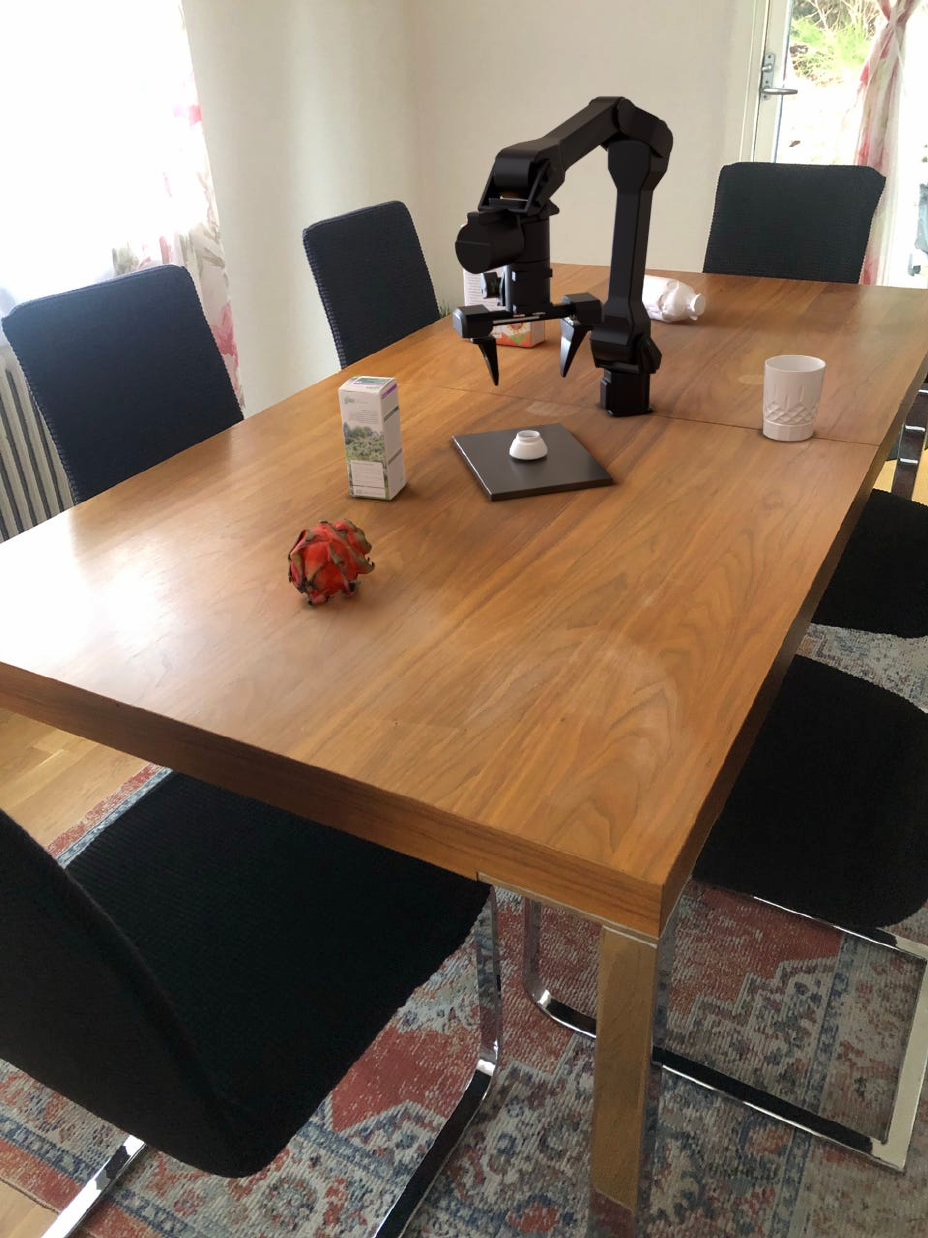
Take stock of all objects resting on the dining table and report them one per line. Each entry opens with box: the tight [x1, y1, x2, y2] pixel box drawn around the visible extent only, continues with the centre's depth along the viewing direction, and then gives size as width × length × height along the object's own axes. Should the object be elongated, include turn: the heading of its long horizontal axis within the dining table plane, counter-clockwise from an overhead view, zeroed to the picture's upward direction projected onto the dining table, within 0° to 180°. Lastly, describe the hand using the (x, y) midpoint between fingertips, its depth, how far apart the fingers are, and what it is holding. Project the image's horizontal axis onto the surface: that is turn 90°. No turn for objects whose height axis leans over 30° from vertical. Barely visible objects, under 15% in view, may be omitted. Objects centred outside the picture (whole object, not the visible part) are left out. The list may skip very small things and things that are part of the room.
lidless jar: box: [510, 431, 547, 460], centre depth 139 cm, size 5×3×5 cm
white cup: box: [762, 354, 827, 442], centre depth 142 cm, size 8×8×10 cm
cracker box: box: [461, 222, 546, 348], centre depth 188 cm, size 14×6×21 cm, turn 58°
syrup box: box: [337, 375, 407, 501], centre depth 130 cm, size 6×6×14 cm
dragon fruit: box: [287, 518, 376, 607], centre depth 109 cm, size 8×8×12 cm
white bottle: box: [642, 274, 707, 324], centre depth 199 cm, size 8×19×8 cm, turn 41°
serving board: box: [452, 422, 614, 502], centre depth 140 cm, size 16×22×1 cm
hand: (529, 380), depth 137 cm, fingers open, 9 cm apart
